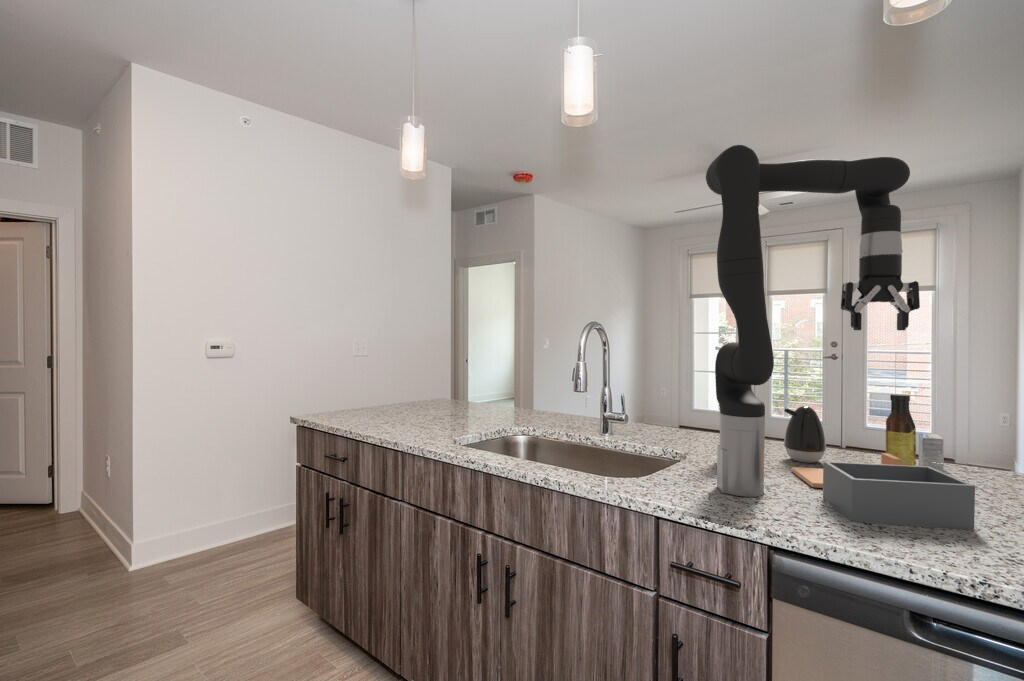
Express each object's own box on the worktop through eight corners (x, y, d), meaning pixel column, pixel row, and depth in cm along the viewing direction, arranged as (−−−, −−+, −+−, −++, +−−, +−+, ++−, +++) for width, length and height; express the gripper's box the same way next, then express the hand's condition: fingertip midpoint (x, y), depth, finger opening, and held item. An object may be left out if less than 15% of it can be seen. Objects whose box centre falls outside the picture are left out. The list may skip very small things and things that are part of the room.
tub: (851, 521, 99) (852, 479, 99) (822, 498, 113) (823, 461, 112) (974, 530, 95) (975, 485, 95) (928, 505, 109) (929, 466, 109)
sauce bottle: (921, 476, 131) (922, 396, 131) (892, 474, 132) (894, 395, 132) (906, 469, 137) (908, 393, 137) (880, 468, 139) (881, 392, 138)
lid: (812, 489, 120) (813, 458, 120) (791, 473, 134) (791, 445, 134) (914, 495, 116) (914, 463, 116) (881, 478, 130) (881, 449, 130)
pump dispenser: (778, 455, 152) (779, 403, 152) (817, 457, 150) (818, 404, 150) (789, 464, 142) (790, 408, 142) (831, 466, 140) (832, 409, 140)
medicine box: (943, 473, 134) (944, 439, 134) (921, 470, 136) (922, 437, 136) (938, 466, 141) (939, 434, 141) (917, 464, 143) (918, 432, 143)
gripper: (907, 256, 116) (906, 330, 116) (836, 258, 118) (835, 330, 119) (927, 251, 108) (926, 330, 109) (851, 253, 111) (850, 330, 111)
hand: (878, 330), depth 114 cm, fingers open, 8 cm apart
